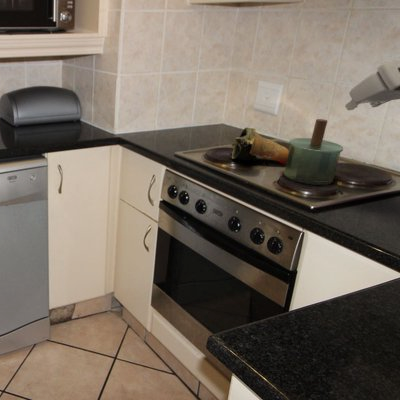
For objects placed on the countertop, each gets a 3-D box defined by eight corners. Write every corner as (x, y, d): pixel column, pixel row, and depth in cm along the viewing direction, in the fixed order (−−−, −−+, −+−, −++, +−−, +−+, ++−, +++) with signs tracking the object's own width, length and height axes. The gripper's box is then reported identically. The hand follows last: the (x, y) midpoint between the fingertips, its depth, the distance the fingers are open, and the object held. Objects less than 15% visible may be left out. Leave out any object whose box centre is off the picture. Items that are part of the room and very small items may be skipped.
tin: (338, 178, 140) (346, 147, 136) (323, 188, 132) (332, 155, 128) (293, 167, 148) (300, 138, 144) (276, 176, 140) (283, 145, 136)
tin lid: (348, 149, 136) (356, 120, 133) (332, 158, 128) (340, 128, 124) (298, 139, 145) (305, 112, 142) (280, 147, 137) (287, 119, 133)
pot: (304, 140, 141) (244, 119, 143) (288, 176, 142) (229, 154, 144) (284, 144, 158) (231, 125, 160) (270, 176, 159) (218, 156, 161)
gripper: (432, 60, 116) (380, 93, 128) (377, 64, 108) (327, 98, 120) (446, 81, 114) (392, 113, 126) (392, 87, 106) (339, 120, 118)
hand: (360, 106), depth 123 cm, fingers open, 8 cm apart
